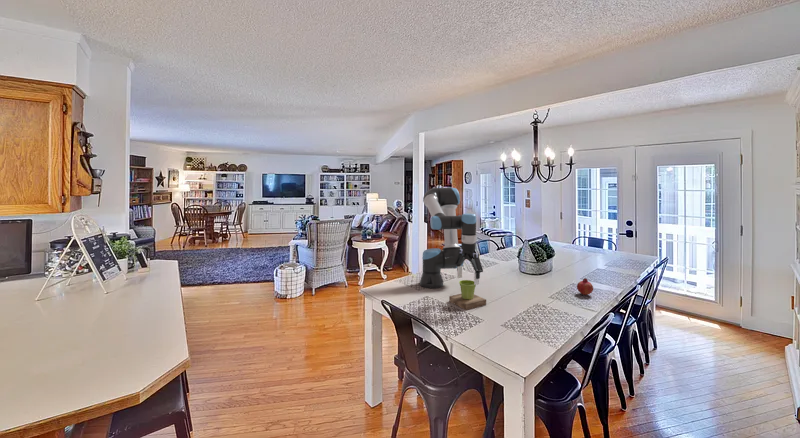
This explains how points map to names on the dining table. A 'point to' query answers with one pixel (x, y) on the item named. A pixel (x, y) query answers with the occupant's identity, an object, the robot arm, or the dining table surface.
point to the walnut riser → (467, 301)
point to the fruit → (585, 287)
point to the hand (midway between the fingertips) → (467, 281)
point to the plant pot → (467, 289)
